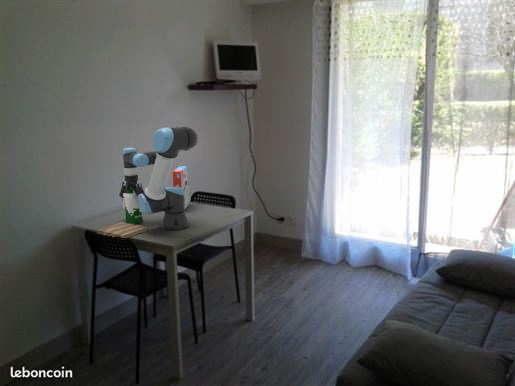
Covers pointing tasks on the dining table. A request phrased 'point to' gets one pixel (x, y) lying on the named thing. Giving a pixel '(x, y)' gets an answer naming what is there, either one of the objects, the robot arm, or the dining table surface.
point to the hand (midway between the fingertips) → (133, 209)
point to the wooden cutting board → (122, 230)
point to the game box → (181, 181)
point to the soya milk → (132, 208)
